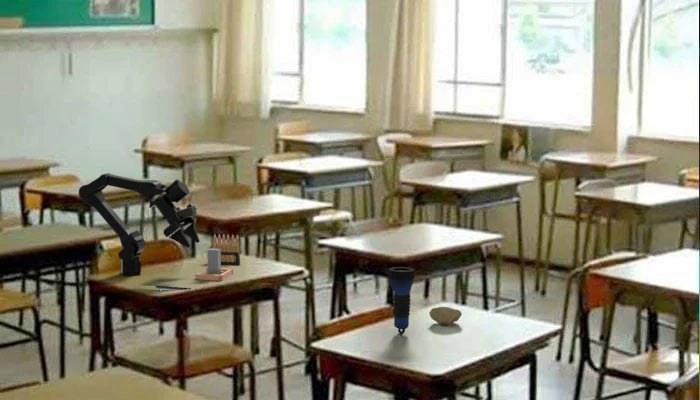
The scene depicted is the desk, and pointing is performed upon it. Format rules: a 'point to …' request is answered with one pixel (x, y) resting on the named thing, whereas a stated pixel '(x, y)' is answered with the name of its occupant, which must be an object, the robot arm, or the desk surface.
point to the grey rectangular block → (214, 261)
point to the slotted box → (215, 275)
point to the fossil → (445, 315)
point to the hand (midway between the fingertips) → (194, 244)
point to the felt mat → (170, 288)
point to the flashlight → (401, 295)
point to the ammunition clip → (228, 250)
